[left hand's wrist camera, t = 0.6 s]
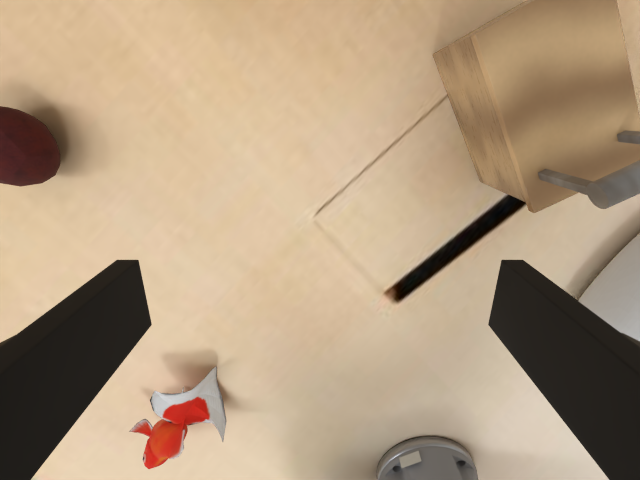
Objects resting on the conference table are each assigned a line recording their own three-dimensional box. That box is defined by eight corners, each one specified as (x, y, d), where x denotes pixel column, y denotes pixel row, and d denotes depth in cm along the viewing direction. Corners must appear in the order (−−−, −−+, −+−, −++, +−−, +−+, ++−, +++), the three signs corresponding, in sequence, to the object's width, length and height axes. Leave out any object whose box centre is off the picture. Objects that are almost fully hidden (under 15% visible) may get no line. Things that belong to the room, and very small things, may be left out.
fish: (94, 420, 45) (95, 488, 37) (187, 331, 48) (206, 376, 40) (156, 445, 51) (169, 507, 43) (235, 365, 54) (260, 410, 46)
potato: (27, 91, 35) (-40, 87, 28) (91, 150, 37) (41, 159, 31) (-11, 140, 37) (-84, 146, 30) (51, 194, 39) (-4, 211, 32)
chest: (563, 140, 37) (636, 150, 28) (480, 181, 39) (525, 202, 30) (525, 1, 32) (598, -37, 24) (432, 54, 34) (469, 36, 26)
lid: (639, 158, 29) (759, 177, 21) (528, 210, 30) (601, 246, 22) (598, -38, 24) (735, -109, 16) (469, 36, 25) (536, 4, 18)
